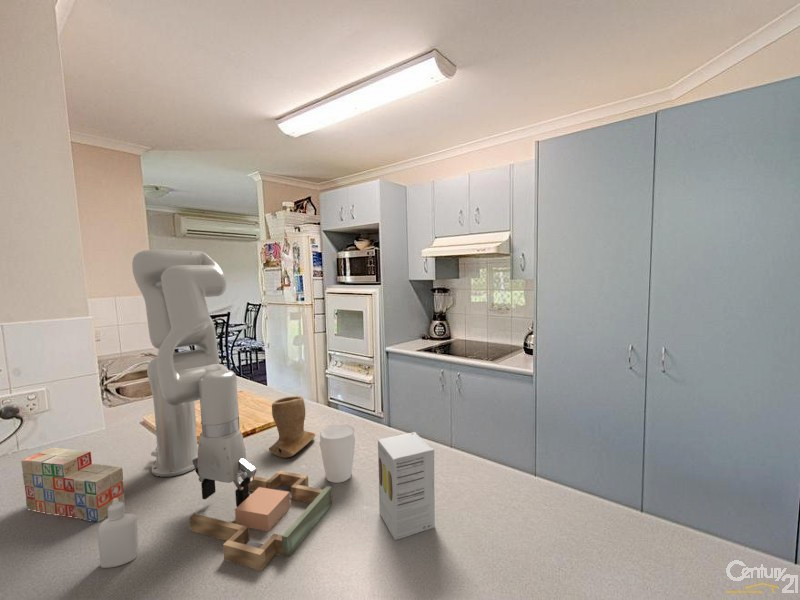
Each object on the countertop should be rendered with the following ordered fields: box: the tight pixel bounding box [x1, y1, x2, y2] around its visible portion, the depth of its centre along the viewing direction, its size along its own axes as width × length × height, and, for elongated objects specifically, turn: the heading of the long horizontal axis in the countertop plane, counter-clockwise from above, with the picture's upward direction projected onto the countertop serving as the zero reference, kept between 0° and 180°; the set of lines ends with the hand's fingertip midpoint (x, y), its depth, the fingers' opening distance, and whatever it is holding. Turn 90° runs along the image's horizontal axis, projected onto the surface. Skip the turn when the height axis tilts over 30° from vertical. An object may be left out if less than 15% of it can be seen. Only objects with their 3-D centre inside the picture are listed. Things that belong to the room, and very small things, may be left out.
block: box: [234, 487, 291, 532], centre depth 79 cm, size 8×8×4 cm
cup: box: [319, 423, 356, 484], centre depth 94 cm, size 9×9×12 cm
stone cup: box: [268, 395, 316, 459], centre depth 110 cm, size 15×12×15 cm
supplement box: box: [377, 431, 436, 541], centre depth 76 cm, size 10×9×17 cm
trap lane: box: [188, 470, 333, 571], centre depth 79 cm, size 24×24×4 cm
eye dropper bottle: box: [97, 498, 140, 569], centre depth 67 cm, size 4×6×12 cm
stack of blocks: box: [20, 447, 125, 523], centre depth 83 cm, size 21×6×12 cm, turn 77°
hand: (225, 499), depth 82 cm, fingers open, 9 cm apart
